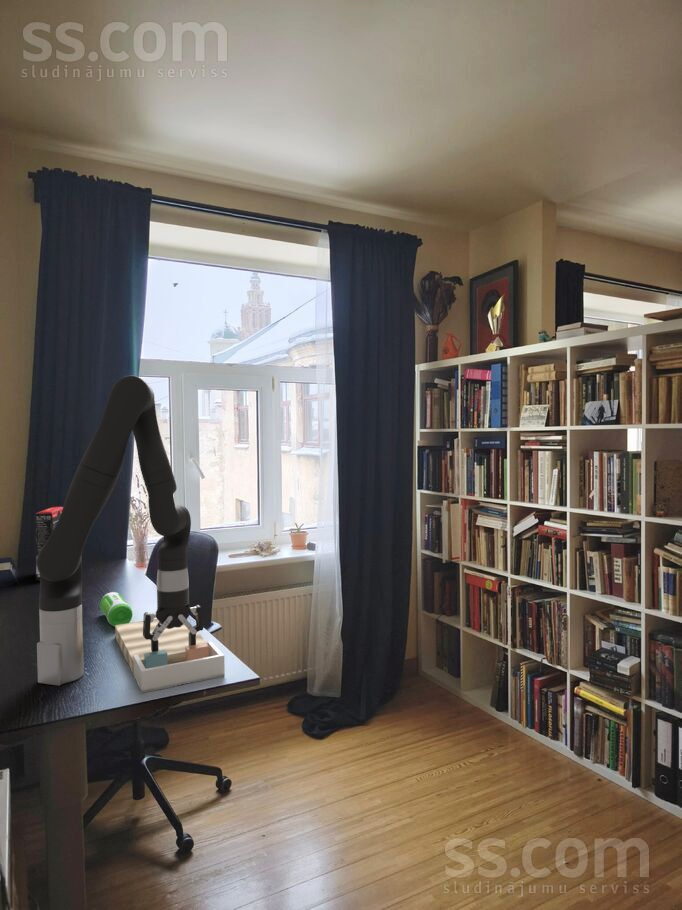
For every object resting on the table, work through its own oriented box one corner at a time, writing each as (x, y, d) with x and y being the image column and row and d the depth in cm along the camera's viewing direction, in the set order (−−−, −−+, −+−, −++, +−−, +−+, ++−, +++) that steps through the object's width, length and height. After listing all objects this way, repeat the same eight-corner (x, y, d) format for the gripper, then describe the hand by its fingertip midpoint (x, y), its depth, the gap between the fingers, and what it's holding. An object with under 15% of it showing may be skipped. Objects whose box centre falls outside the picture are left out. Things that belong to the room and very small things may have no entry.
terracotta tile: (205, 662, 149) (208, 665, 147) (185, 666, 146) (188, 670, 144) (205, 642, 149) (208, 646, 146) (185, 646, 146) (188, 649, 144)
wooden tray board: (211, 660, 152) (211, 646, 152) (133, 675, 143) (133, 661, 143) (182, 626, 178) (182, 614, 178) (115, 637, 169) (115, 625, 169)
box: (224, 675, 142) (224, 655, 142) (142, 693, 133) (141, 671, 133) (211, 660, 152) (211, 641, 152) (133, 675, 143) (133, 655, 142)
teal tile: (165, 669, 144) (167, 673, 142) (144, 673, 142) (146, 677, 140) (165, 649, 144) (167, 653, 142) (143, 653, 142) (145, 656, 140)
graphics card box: (48, 571, 248) (46, 506, 247) (66, 570, 249) (64, 506, 248) (35, 582, 231) (33, 512, 230) (54, 581, 232) (52, 511, 231)
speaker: (134, 627, 178) (133, 602, 178) (108, 631, 174) (107, 606, 174) (123, 611, 193) (122, 589, 193) (99, 615, 190) (98, 592, 189)
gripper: (145, 594, 139) (147, 662, 140) (205, 586, 146) (206, 650, 147) (139, 586, 146) (141, 651, 147) (197, 579, 153) (198, 641, 153)
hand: (174, 651), depth 147 cm, fingers open, 8 cm apart
